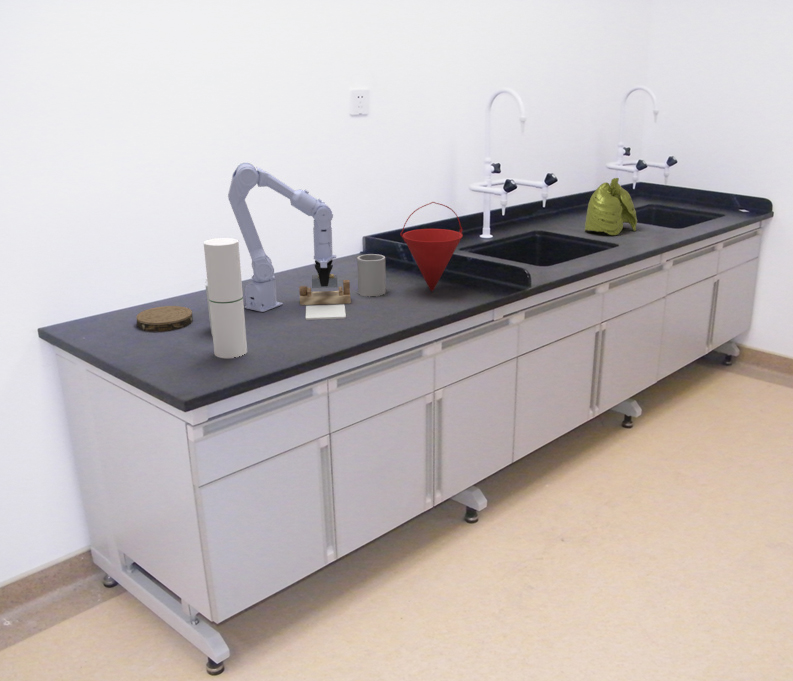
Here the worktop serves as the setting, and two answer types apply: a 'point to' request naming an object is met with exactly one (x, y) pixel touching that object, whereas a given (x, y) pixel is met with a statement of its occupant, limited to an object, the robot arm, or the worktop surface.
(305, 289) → the wooden block stand
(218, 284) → the container
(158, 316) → the wood slice
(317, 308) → the white base plate
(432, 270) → the fire bucket
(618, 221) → the lungs
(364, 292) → the cup
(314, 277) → the lever cap
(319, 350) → the worktop surface
